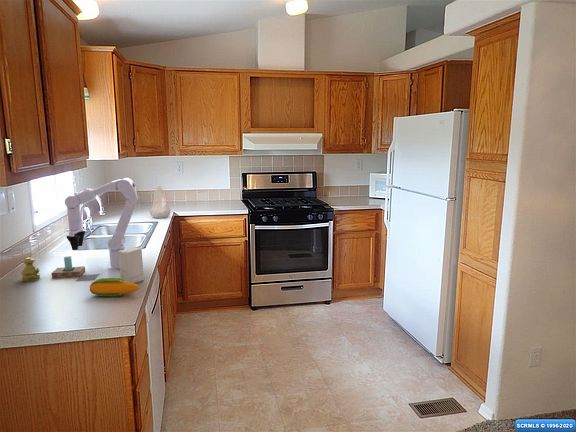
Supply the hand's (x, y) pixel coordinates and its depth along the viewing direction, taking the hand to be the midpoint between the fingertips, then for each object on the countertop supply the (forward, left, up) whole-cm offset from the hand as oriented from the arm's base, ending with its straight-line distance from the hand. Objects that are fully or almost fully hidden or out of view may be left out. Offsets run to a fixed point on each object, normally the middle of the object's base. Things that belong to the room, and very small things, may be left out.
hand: (77, 247), depth 207 cm
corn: (-25, +41, -11) cm, 49 cm away
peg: (+1, +11, -10) cm, 15 cm away
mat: (-8, +17, -10) cm, 21 cm away
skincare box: (-29, +25, -11) cm, 39 cm away
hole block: (+2, +11, -10) cm, 15 cm away
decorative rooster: (-25, -128, -11) cm, 131 cm away
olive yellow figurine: (+17, +13, -11) cm, 24 cm away
